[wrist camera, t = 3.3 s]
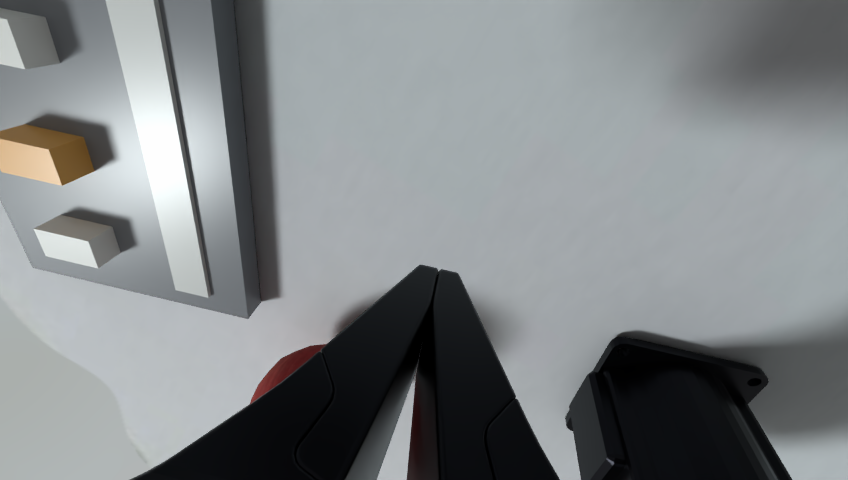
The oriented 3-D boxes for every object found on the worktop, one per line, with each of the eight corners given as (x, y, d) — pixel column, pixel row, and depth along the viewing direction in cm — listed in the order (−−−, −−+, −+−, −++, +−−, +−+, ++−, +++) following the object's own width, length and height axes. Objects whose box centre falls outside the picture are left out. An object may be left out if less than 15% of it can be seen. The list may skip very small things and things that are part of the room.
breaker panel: (213, -223, 10) (142, -275, 8) (260, 302, 20) (233, 337, 18) (-178, -289, 11) (-334, -352, 9) (55, 254, 21) (7, 282, 19)
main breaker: (83, 136, 15) (48, 149, 14) (94, 171, 16) (61, 185, 15) (24, 124, 15) (-16, 135, 14) (38, 158, 16) (1, 172, 15)
